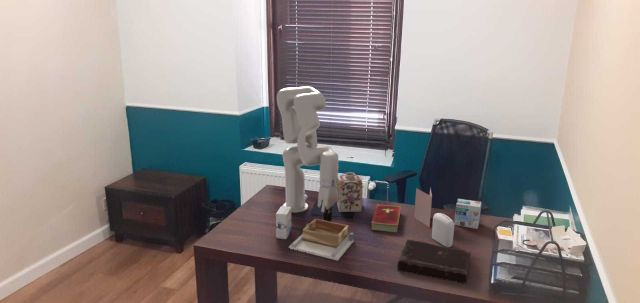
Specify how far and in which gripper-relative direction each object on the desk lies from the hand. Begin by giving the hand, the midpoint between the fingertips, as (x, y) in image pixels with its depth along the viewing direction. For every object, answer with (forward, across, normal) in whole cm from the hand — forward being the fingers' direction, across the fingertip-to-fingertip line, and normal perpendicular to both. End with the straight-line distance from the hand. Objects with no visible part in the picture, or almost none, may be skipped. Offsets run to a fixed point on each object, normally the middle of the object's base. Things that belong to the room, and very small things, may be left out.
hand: (327, 220), depth 194 cm
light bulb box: (+7, -39, +53) cm, 66 cm away
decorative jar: (+9, -33, -3) cm, 34 cm away
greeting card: (+8, -33, +34) cm, 48 cm away
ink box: (+9, +6, -18) cm, 21 cm away
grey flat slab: (+8, +8, +1) cm, 11 cm away
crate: (+7, +3, +1) cm, 8 cm away
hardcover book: (+9, -26, +19) cm, 33 cm away
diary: (+7, +3, +47) cm, 48 cm away
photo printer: (+7, -17, +46) cm, 50 cm away
